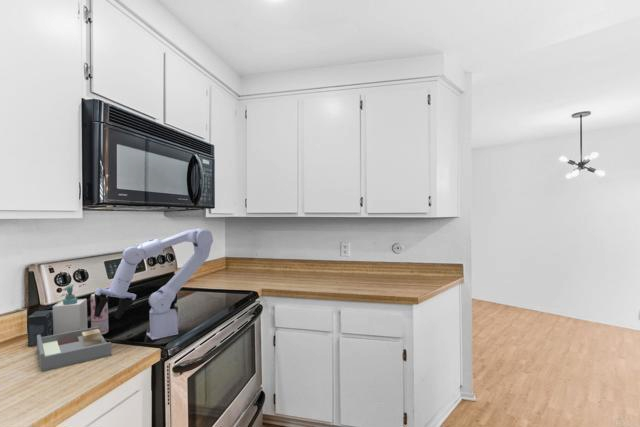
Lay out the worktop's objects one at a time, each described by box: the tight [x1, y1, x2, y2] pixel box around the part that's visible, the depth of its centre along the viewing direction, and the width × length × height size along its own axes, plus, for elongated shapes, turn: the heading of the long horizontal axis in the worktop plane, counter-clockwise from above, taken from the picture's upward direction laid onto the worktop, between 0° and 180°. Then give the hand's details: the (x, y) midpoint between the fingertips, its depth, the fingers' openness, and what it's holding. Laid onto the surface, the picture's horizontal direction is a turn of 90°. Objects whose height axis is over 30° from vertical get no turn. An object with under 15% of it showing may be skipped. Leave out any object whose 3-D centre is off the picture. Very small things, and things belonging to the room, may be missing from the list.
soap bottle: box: [52, 284, 88, 335], centre depth 141 cm, size 9×9×19 cm
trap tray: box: [36, 326, 112, 372], centre depth 126 cm, size 18×22×5 cm
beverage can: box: [90, 293, 109, 336], centre depth 145 cm, size 6×6×15 cm
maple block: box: [82, 329, 101, 346], centre depth 129 cm, size 5×5×4 cm
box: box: [27, 309, 53, 348], centre depth 136 cm, size 8×6×11 cm
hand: (106, 317), depth 132 cm, fingers open, 7 cm apart
